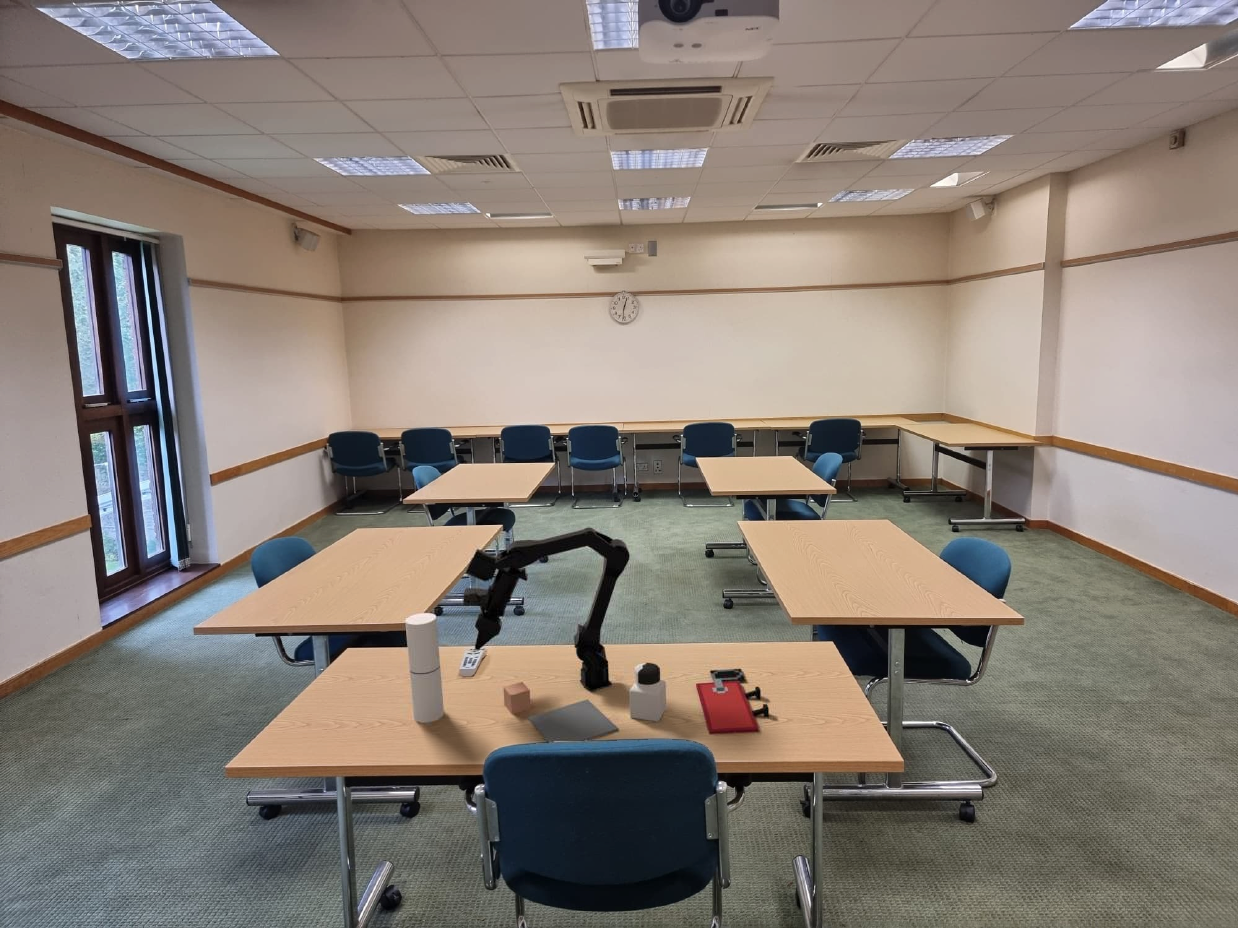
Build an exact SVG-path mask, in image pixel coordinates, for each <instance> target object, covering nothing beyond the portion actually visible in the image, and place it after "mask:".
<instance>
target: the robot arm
mask: <svg viewBox="0 0 1238 928" xmlns="http://www.w3.org/2000/svg"><path fill="white" fill-rule="evenodd" d="M585 547H588V548H590V549H592V550H593V551H594V552H596V553H598V555H599V556H601V557H603V565H602V573H601V577H600V578H599V579H600V580H599V583H598V585H597V587H596V593H595V595H594V598H593V600H592V604H591V608H590V611H589V614H588V617H587V620H586V621H585V623H584V624H583V625H582V624H579V623H578V624H577V630H576V633H575V635H574V636H573V644H574V648H575V653H576V656H577V658H578V659H579V660H580V661H581V668H580V679H579V682H580V683H581V685H583V686H584V687H585V688H586V690H589V691H590V692H594V691H596V690H599V689H603V688H606V687H610V686H612V684H613V682H612V681H611V680H610V679H609V677H610V676H609V675H610V673H609V672H610V671H609V660H608V658H607V655H606V649H605V646H604V645H603V644H601V630H602V626H603V625H604V624H603V623H604V620H605V617H606V614H607V611H608V608H609V605H610V602H611V599H612V595H613V593H614V589H615V587H616V584H617V580H618V579H619V578H620V576H621V575H622V574H623V572H624V570H625V569H626V567H627V565H628V563H629V560H630V556H631V555H630V552H629V548H628V545H627V544H626V542H624V541H623V540H621V539H620V538H619V539H618V538H615V539H614V538H613V537H612V538H611V537H610V536H608V535H607V534H604V533H601V532H599V531H597V530H596V529H594V527H593V528H592V527H585V528H583V529H580V530H575V531H572V532H567V533H564V534H560V535H556V536H551V537H547V538H544V539H539V540H538V539H523V540H514V541H512V542H511V543H510V544H509V545H508V547H507V548H506V549H504V550H503V551H501V552H499V553H498V554H496V556H494V555H491V554H489V553H486V552H484V551H483V550H481V549H479V548H477V549H476V550H475V552H474V555H473V557H471V559H470V561H469V564H468V566H467V568H466V571H465V573H464V574H465V575H467V576H470V577H472V578H475V579H477V580H480V581H482V582H484V583H486V582H489V581H490V580H492V579H493V578H494V580H493V581H492V584H490V585H489V586H488V588H487V589H486V588H485V589H484V588H476V587H475V588H473V587H466V588H465V589H464V591H463V599H462V605H463V606H464V607H470V606H471V607H479V608H480V611H481V613H478V616H477V618H476V620H475V623H474V627H475V628H476V631H477V635H476V641H475V644H474V650H475V651H479V650H480V649H482V648H483V647H484V646H485V645H486V644H487V643H489V642H490V641H491V640H492V639H494V638H495V637H496V636H499V635H500V632H501V630H502V627H503V621H502V620H501V618H503V617H504V615H505V611H506V608H507V606H508V604H509V603H510V602H511V600H512V596H513V594H514V591H515V589H516V587H517V585H518V583H519V580H523V581H525V582H526V581H528V578H529V577H528V576H529V574H528V572H527V569H526V567H528V566H530V565H532V564H534V563H535V562H537V561H539V560H540V559H542V558H546V557H549V556H553V555H558V554H561V553H564V552H570V551H573V550H577V549H580V548H585ZM497 570H498V571H497ZM496 571H497V573H496ZM495 573H496V575H495ZM494 575H495V576H494ZM500 617H501V618H500Z"/></svg>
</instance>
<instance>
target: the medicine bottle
mask: <svg viewBox="0 0 1238 928" xmlns="http://www.w3.org/2000/svg"><path fill="white" fill-rule="evenodd" d="M634 680H635V681H634V683H633V685H632V686H631V688H630V689H629V710H630V711H629V713H630V714H629V716H630V718H633V719H637V720H645V721H652V722H656V723H657V722H660V720H661V718H662V716H663V714H664V712H665V711H666V709H667V683H666V682H667V681H666V680H661V668H660V666H659V665H658V664H656V663H653V662H643V663H639V664H638V665H637V666H635V668H634Z"/></svg>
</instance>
